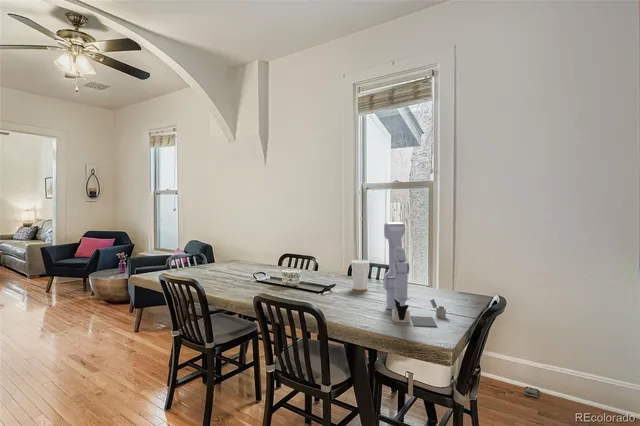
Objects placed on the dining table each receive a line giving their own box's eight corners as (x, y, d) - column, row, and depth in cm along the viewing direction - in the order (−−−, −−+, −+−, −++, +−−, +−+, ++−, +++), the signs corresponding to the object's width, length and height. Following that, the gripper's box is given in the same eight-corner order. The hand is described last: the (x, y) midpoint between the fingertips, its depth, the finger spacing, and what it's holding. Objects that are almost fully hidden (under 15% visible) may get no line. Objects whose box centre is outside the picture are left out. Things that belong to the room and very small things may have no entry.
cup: (373, 289, 215) (373, 261, 214) (359, 292, 208) (359, 263, 208) (361, 286, 224) (361, 259, 224) (347, 288, 218) (347, 261, 217)
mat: (410, 317, 164) (410, 316, 164) (432, 318, 163) (432, 317, 163) (413, 326, 152) (413, 325, 152) (437, 327, 151) (437, 326, 151)
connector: (391, 319, 161) (391, 305, 161) (409, 320, 160) (409, 306, 160) (392, 321, 158) (392, 307, 158) (410, 322, 157) (410, 308, 157)
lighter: (445, 317, 164) (446, 300, 164) (444, 318, 163) (445, 301, 162) (430, 314, 168) (431, 298, 168) (429, 315, 167) (429, 299, 166)
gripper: (411, 292, 151) (411, 322, 151) (408, 284, 165) (408, 312, 166) (395, 291, 152) (395, 322, 152) (393, 283, 166) (393, 311, 167)
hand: (400, 317), depth 159 cm, fingers open, 7 cm apart
